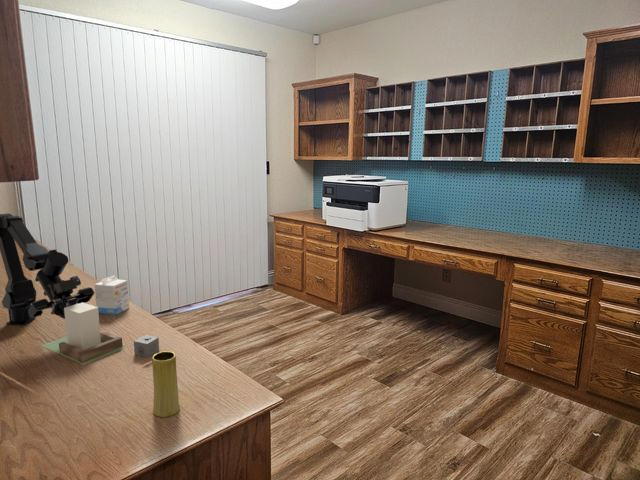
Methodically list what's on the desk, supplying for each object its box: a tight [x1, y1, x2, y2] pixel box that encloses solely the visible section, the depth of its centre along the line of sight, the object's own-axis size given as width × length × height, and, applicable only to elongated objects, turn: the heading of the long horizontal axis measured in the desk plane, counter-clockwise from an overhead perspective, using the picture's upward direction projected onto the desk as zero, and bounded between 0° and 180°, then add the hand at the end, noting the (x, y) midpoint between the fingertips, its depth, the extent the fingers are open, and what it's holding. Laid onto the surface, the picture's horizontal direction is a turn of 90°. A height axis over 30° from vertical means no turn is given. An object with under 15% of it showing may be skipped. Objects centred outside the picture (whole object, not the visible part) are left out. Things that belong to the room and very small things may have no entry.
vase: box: [151, 350, 181, 418], centre depth 103 cm, size 6×6×14 cm
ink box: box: [94, 275, 130, 316], centre depth 166 cm, size 9×8×13 cm
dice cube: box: [133, 334, 160, 358], centre depth 133 cm, size 5×5×5 cm
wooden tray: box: [59, 329, 124, 363], centre depth 134 cm, size 12×13×3 cm
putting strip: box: [40, 336, 127, 366], centre depth 136 cm, size 23×14×1 cm, turn 59°
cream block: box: [64, 302, 101, 350], centre depth 134 cm, size 8×6×13 cm
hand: (75, 323), depth 137 cm, fingers closed
